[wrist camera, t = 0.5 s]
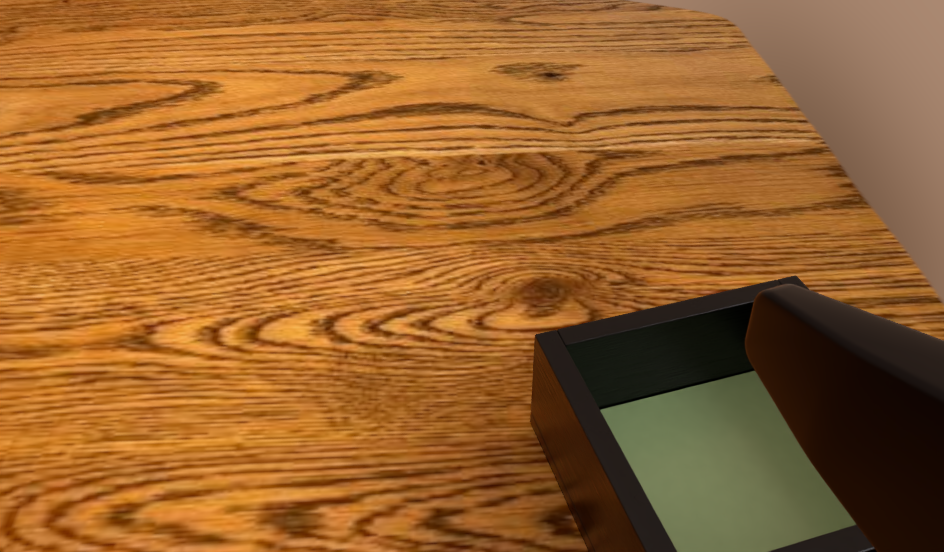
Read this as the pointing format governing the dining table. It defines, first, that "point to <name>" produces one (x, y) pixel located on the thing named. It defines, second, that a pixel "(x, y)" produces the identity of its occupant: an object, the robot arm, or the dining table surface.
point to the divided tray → (678, 436)
